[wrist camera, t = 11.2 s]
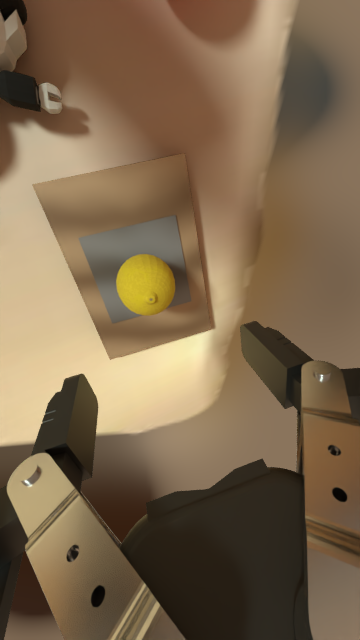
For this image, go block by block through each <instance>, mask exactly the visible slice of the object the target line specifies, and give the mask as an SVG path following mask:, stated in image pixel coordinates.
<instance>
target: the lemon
mask: <svg viewBox="0 0 360 640" xmlns="http://www.w3.org/2000/svg"><path fill="white" fill-rule="evenodd" d="M116 286H117V292H118V294H119V297H120V299H121V301H122V302H123V304H124V305H125V306H126V307H127V308H128V309H130V310H131V311H132V312H134V313H136V314H140V315H144V316H151V315H155V314H158V313H160V312H162V311H163V310H165V309H166V308H167V307H168V306H169V304H170V303H171V301H172V299H173V297H174V293H175V279H174V276H173V273H172V271H171V269H170V268H169V266H168V265H167V264H166V263H165V262H164V261H163V260H161V259H160V258H158V257H156V256H154V255H149V254H139V255H136V256H133V257H131V258H129V259H128V260H126V261H125V263H124V264H123V265H122V266H121V268H120V270H119V272H118V275H117V279H116Z"/></svg>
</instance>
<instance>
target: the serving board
mask: <svg viewBox="0 0 360 640" xmlns="http://www.w3.org/2000/svg"><path fill="white" fill-rule="evenodd" d="M33 187H34V190H35V192H36V194H37V196H38V199H39V201H40V203H41V205H42V208H43V210H44V212H45V214H46V217H47V219H48V221H49V223H50V226H51V228H52V230H53V232H54V235H55V237H56V239H57V241H58V244H59V246H60V248H61V250H62V253H63V255H64V257H65V259H66V262H67V264H68V266H69V268H70V271H71V273H72V275H73V277H74V280H75V282H76V284H77V286H78V289H79V291H80V293H81V295H82V298H83V300H84V302H85V304H86V307H87V309H88V311H89V313H90V316H91V318H92V320H93V322H94V325H95V327H96V329H97V331H98V334H99V336H100V338H101V340H102V343H103V345H104V347H105V349H106V352H107V354H108V356H109V358H110V360H111V359H114V358H117V357H121V356H124V355H127V354H131V353H134V352H137V351H141V350H144V349H147V348H150V347H154V346H157V345H160V344H164V343H167V342H170V341H174V340H177V339H180V338H184V337H187V336H190V335H194V334H197V333H200V332H203V331H207V330H210V329H211V325H210V319H209V312H208V305H207V298H206V292H205V285H204V278H203V272H202V265H201V258H200V251H199V245H198V238H197V231H196V224H195V218H194V211H193V204H192V197H191V191H190V184H189V177H188V170H187V164H186V157H185V153H183V154H178V155H173V156H168V157H163V158H158V159H154V160H149V161H144V162H139V163H134V164H129V165H125V166H120V167H115V168H110V169H105V170H100V171H96V172H91V173H86V174H81V175H76V176H71V177H67V178H62V179H57V180H52V181H47V182H42V183H38V184H33ZM139 254H149V255H154V256H156V257H158V258H160V259H161V260H163V261H164V262H165V263H166V264H167V265H168V266H169V268H170V269H171V271H172V273H173V276H174V279H175V293H174V297H173V299H172V301H171V303H170V304H169V306H168V307H167V308H166V309H165V310H163V311H162V312H160V313H158V314H155V315H151V316H144V315H140V314H136V313H134V312H132V311H131V310H130V309H128V308H127V307H126V306H125V305H124V304H123V302H122V301H121V299H120V297H119V294H118V292H117V286H116V279H117V275H118V272H119V270H120V268H121V266H122V265H123V264H124V263H125V261H126V260H128V259H129V258H131V257H133V256H136V255H139Z"/></svg>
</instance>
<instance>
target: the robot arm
mask: <svg viewBox="0 0 360 640" xmlns="http://www.w3.org/2000/svg"><path fill="white" fill-rule="evenodd" d="M240 332H241V346H242V352H243V355H244V358H245V359H246V361H247V362H248V363H249V365H250V366H251V367H252V368H253V370H254V371H255V372H256V373H257V375H258V376H259V377H260V378H261V380H262V381H263V382H264V383H265V385H266V386H267V387H268V388H269V390H270V391H271V392H272V393H273V395H274V396H275V397H276V398H277V400H278V401H279V402H280V403H281V405H282V406H283V407H284V408H285V409H286V408H289V407H292V406H294V407H295V408H296V409H297V461H296V472H294V471H291V470H287V469H283V468H275V467H267V466H266V464H265V462H264V461H263V459H260V460H257V461H255V462H252V463H249V464H247V465H244V466H242V467H239V468H237V469H234V470H233V471H232V472H231V473H229V474H228V475H227V476H225V477H224V478H223V479H221V480H220V481H219V482H218V483H216V484H215V485H214V486H212V487H211V488H209V489H205V490H191V491H177V492H174V493H171V494H168V495H166V496H163V497H161V498H158V499H155V500H153V501H150V502H148V503H146V506H147V514H146V515H145V516H144V517H143V518H142V519H141V520H140V521H139V522H137V523H136V525H135V526H134V527H133V528H132V529H131V530H130V532H129V533H128V535H127V536H126V538H125V539H124V541H123V542H122V544H121V543H120V541H119V540H118V539H117V538H116V536H115V535H114V534H113V533H112V531H111V530H110V529H109V528H108V527H107V525H106V524H105V522H104V521H103V520H102V519H101V517H100V516H99V515H98V513H97V512H96V511H95V510H94V508H93V507H92V506H91V504H90V503H89V502H88V501H87V499H86V498H85V497H84V495H83V494H82V493H81V483H82V481H84V480H86V479H89V478H92V471H93V460H94V449H95V437H96V426H97V415H98V402H97V398H96V396H95V394H94V392H93V390H92V388H91V386H90V384H89V383H88V381H87V379H86V377H85V376H84V374H79V375H76V376H72V377H69V378H66V379H65V380H64V383H63V387H62V390H61V391H60V392H57V393H56V394H55V395H54V396H53V398H52V399H51V400H50V402H49V403H48V406H47V409H46V412H45V415H44V418H43V421H42V422H43V424H41V427H40V430H39V433H38V436H37V439H36V442H35V445H34V448H33V451H32V454H31V457H29V458H28V459H26V460H25V461H24V462H22V464H20V465H19V466H18V468H17V469H16V470H15V471H14V472H13V474H12V475H11V477H10V479H9V482H8V484H7V485H6V486H4V487H3V488H1V489H0V640H4V636H5V632H6V627H7V623H8V618H9V614H10V609H11V605H12V600H13V596H14V591H15V587H16V582H17V578H18V573H19V569H20V564H21V559H22V555H23V551H25V550H26V552H27V555H28V557H29V560H30V562H31V564H32V566H33V569H34V571H35V573H36V576H37V578H38V581H39V583H40V585H41V587H42V590H43V592H44V594H45V597H46V599H47V601H48V604H49V606H50V608H51V610H52V613H53V615H54V617H55V619H56V622H57V624H58V626H59V629H60V631H61V633H62V635H63V638H64V640H360V368H353V369H339V368H338V367H336V366H335V365H333V364H331V363H328V362H325V361H314V360H313V359H312V358H310V357H309V356H308V355H307V354H306V353H304V352H303V351H301V349H299V348H298V347H297V346H296V345H294V344H293V343H291V341H290V340H288V339H287V338H285V336H284V335H282V334H281V333H280V332H279V331H277V330H274V329H272V328H269V327H267V328H264V327H263V326H261V325H260V324H259V323H258V322H257V321H253V322H250V323H246V324H244V325H241V327H240Z"/></svg>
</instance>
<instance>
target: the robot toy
mask: <svg viewBox="0 0 360 640" xmlns="http://www.w3.org/2000/svg"><path fill="white" fill-rule="evenodd" d="M26 20H27V12H26V7H25V4H24V2H23V0H0V97H1V98H2V99H4V100H5V101H7V102H8V103H10V104H11V105H13V106H16V107H20V108H25V109H30V110H34V111H39V112H41V111H40V106H41V107H42V108H43V109H45V110H46V111H47V112H49V113H50V114H58V113H60V112H61V110H62V104H61V102H54V101H50V97H54V98H58V99H61V93H60V91H59V89H58V88H57V87H56V86H54V85H52V84H50V83H48V82H46V83H43V84H40V85H38V86H37V83H36V80H35V78H33V77H31V76H27V75H23V74H19V73H15V72H12V71H13V70H14V69H15V66H16V62H17V59H18V58H19V57H20V56H21V55H22V54H23V53H24V52H25V50H26V49H27V41H26V32H25V30H24V27H23V25H24V24H25V23H26Z"/></svg>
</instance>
